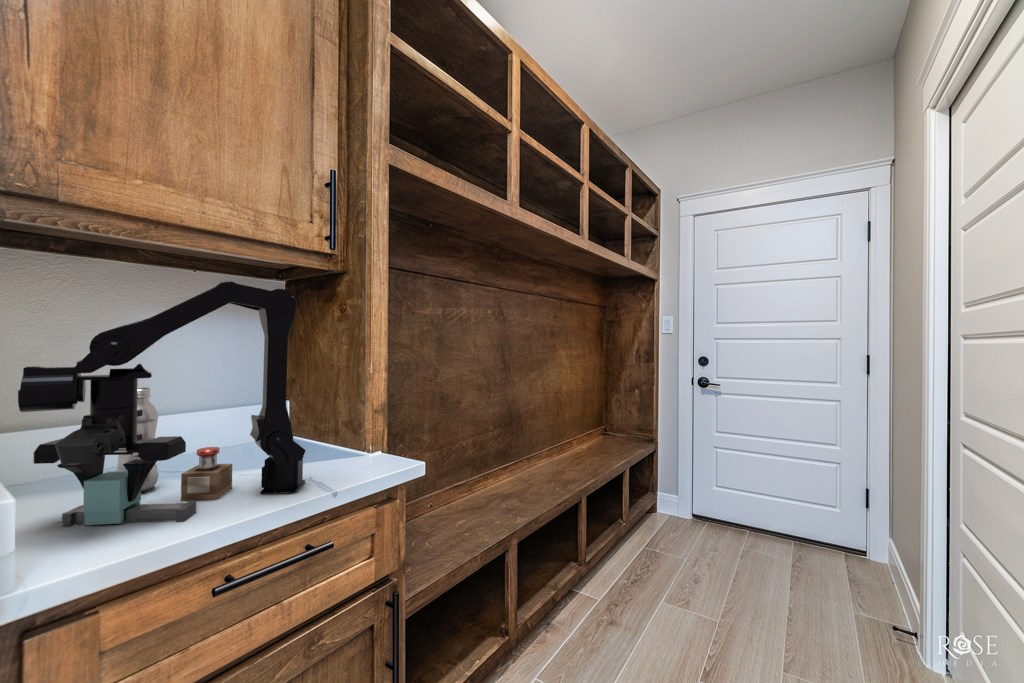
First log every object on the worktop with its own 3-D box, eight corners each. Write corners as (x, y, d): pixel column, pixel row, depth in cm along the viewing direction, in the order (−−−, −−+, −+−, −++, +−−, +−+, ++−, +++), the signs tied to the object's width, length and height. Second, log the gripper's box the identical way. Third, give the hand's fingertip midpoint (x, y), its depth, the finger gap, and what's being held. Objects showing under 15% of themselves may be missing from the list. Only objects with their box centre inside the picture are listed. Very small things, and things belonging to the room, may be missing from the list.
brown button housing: (231, 488, 87) (232, 463, 87) (215, 500, 81) (216, 473, 81) (198, 489, 86) (199, 464, 86) (179, 501, 80) (180, 474, 80)
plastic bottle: (166, 485, 88) (168, 386, 88) (139, 498, 81) (140, 390, 81) (133, 485, 88) (135, 386, 88) (103, 497, 81) (105, 390, 81)
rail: (196, 512, 75) (196, 501, 75) (183, 521, 72) (184, 509, 72) (80, 517, 72) (80, 505, 72) (62, 526, 69) (62, 514, 69)
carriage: (140, 511, 74) (141, 470, 74) (119, 524, 69) (119, 480, 69) (107, 513, 74) (107, 471, 74) (83, 525, 69) (83, 481, 69)
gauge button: (222, 474, 86) (223, 446, 86) (213, 480, 82) (213, 451, 82) (202, 475, 85) (202, 447, 85) (192, 481, 82) (192, 451, 82)
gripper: (-3, 415, 62) (-4, 525, 62) (145, 414, 65) (143, 519, 65) (64, 404, 73) (63, 497, 73) (188, 403, 76) (187, 492, 76)
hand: (113, 501), depth 72 cm, fingers closed on carriage, 5 cm apart
